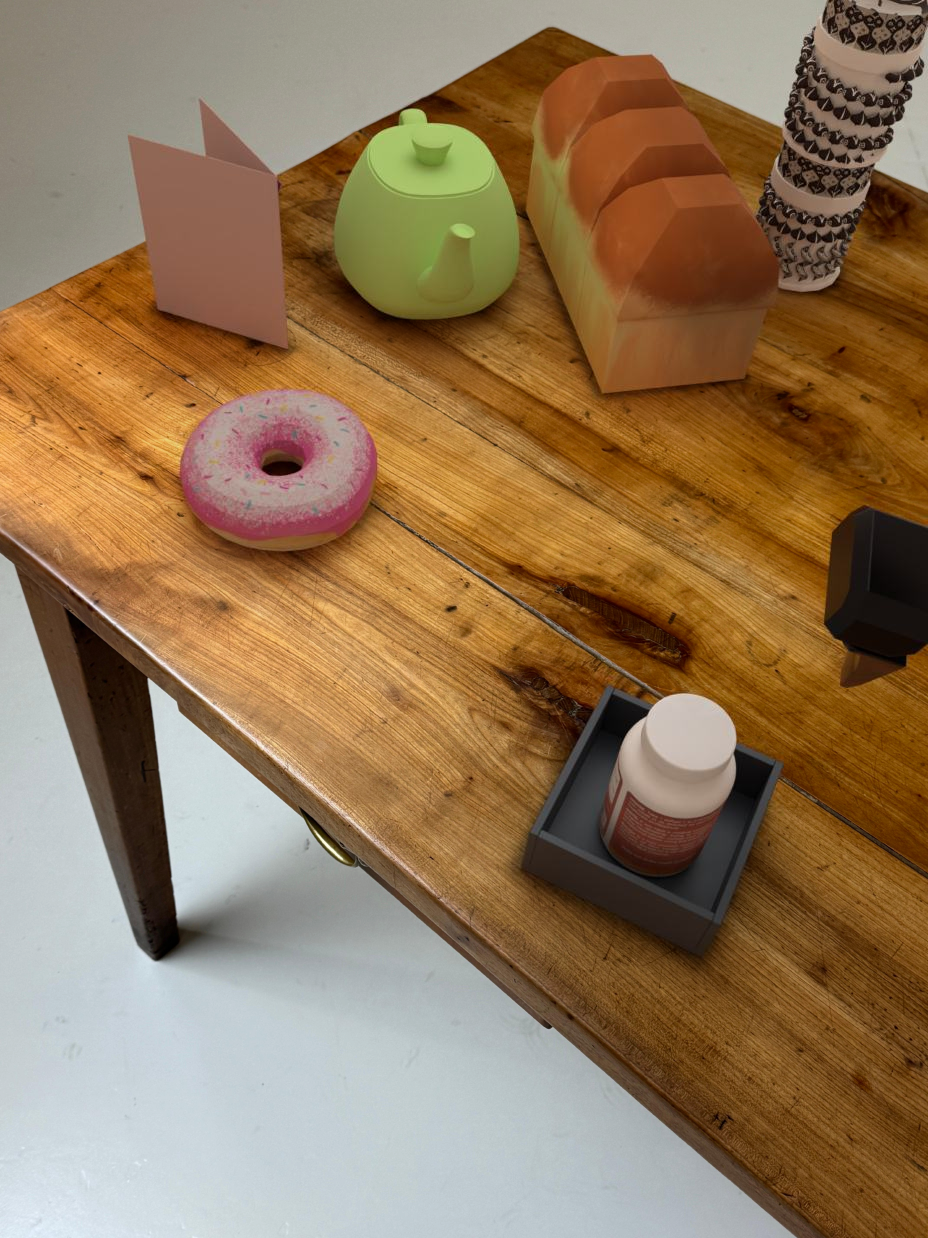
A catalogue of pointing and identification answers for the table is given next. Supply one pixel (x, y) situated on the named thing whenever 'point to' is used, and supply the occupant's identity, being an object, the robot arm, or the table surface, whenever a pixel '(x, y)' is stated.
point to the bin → (585, 868)
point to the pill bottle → (669, 785)
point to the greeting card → (213, 232)
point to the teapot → (427, 222)
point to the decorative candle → (838, 132)
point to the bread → (645, 229)
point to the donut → (279, 505)
